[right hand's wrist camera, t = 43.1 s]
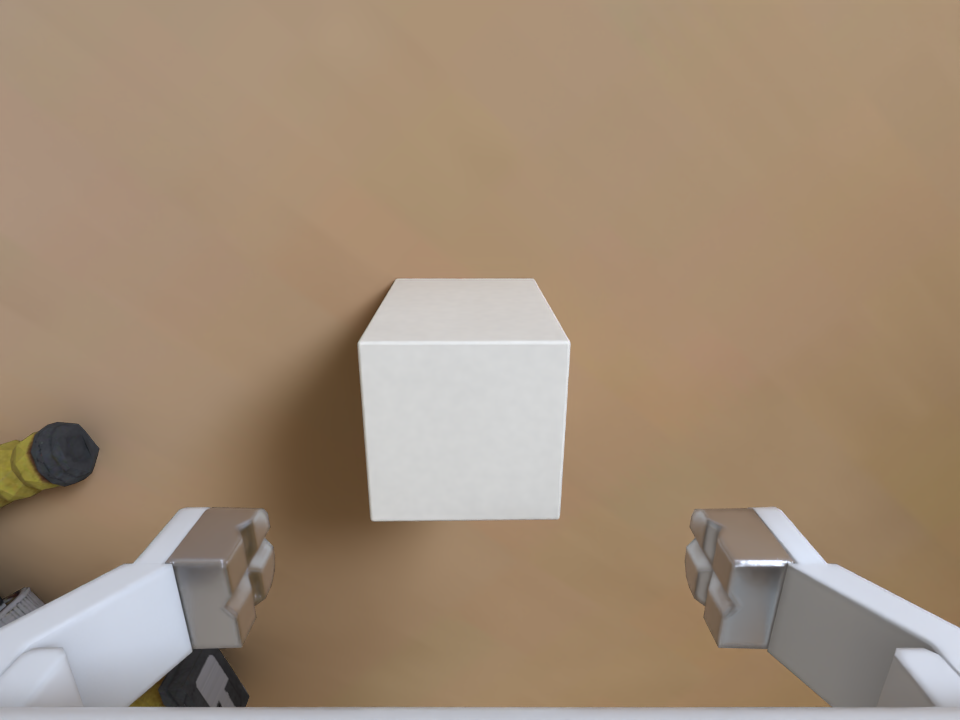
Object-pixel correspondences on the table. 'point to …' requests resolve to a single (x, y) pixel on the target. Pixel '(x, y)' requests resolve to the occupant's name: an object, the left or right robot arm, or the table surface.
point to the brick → (464, 402)
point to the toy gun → (17, 475)
